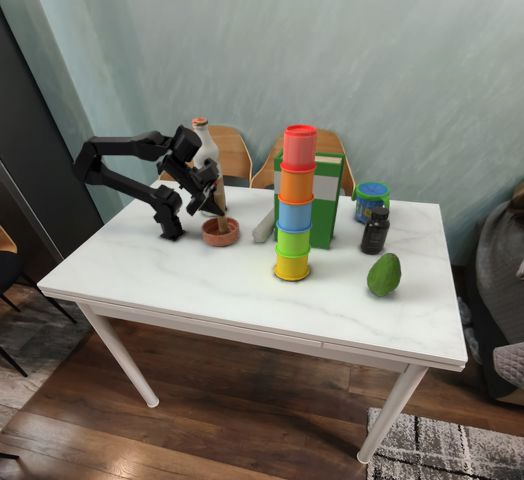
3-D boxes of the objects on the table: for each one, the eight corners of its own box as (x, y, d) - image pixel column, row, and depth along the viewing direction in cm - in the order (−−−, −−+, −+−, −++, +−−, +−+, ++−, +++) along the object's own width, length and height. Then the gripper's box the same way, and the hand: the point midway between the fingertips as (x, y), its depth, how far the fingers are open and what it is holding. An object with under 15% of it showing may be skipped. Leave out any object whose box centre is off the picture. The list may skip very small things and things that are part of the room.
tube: (266, 235, 94) (295, 199, 108) (251, 227, 94) (282, 191, 108) (262, 248, 99) (291, 212, 112) (247, 240, 99) (278, 205, 112)
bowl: (196, 241, 101) (193, 230, 98) (217, 224, 107) (215, 213, 104) (226, 251, 97) (225, 239, 93) (246, 232, 103) (245, 221, 100)
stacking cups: (268, 266, 91) (264, 127, 64) (299, 257, 93) (307, 119, 66) (283, 286, 85) (286, 141, 58) (315, 275, 87) (332, 132, 60)
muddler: (219, 239, 99) (212, 196, 88) (216, 232, 102) (209, 190, 91) (232, 236, 100) (227, 194, 89) (229, 229, 102) (223, 188, 92)
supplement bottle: (386, 247, 94) (398, 209, 85) (375, 257, 91) (386, 219, 82) (367, 240, 97) (376, 202, 88) (355, 249, 94) (363, 211, 85)
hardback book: (333, 237, 99) (345, 154, 81) (328, 249, 95) (340, 164, 76) (281, 229, 103) (282, 148, 85) (274, 240, 99) (273, 158, 81)
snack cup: (393, 225, 102) (402, 194, 94) (366, 233, 100) (374, 202, 92) (365, 205, 111) (372, 176, 103) (340, 212, 109) (345, 182, 101)
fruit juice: (231, 211, 113) (220, 119, 91) (210, 219, 110) (193, 126, 88) (218, 202, 118) (205, 113, 96) (197, 210, 114) (178, 119, 93)
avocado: (375, 306, 78) (388, 266, 69) (357, 288, 83) (367, 249, 74) (400, 296, 80) (417, 257, 71) (382, 279, 85) (394, 240, 75)
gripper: (187, 165, 77) (234, 210, 84) (207, 139, 88) (247, 181, 95) (166, 196, 84) (211, 235, 91) (187, 169, 95) (226, 205, 102)
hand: (225, 212), depth 95 cm, fingers closed on muddler, 3 cm apart
